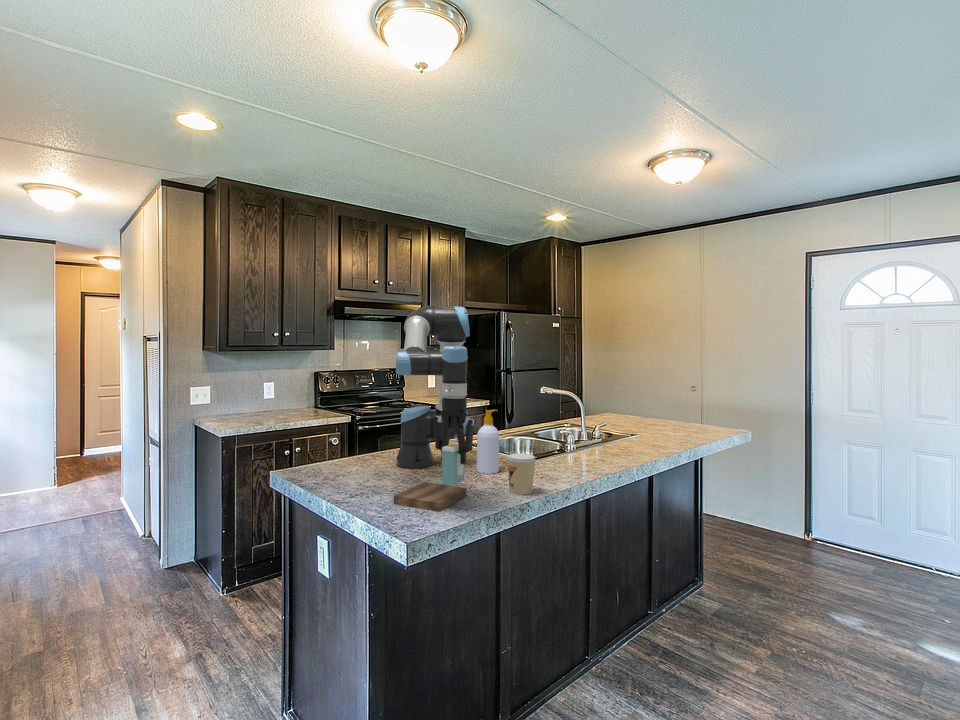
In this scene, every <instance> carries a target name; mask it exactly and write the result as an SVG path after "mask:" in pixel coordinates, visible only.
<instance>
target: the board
mask: <svg viewBox="0 0 960 720" xmlns="http://www.w3.org/2000/svg"><path fill="white" fill-rule="evenodd" d="M466 496H467V487H461V486H457V485H447V484H442V483H435V482H430V481H429V482H427V481H423V482H421V483H419V484H416V485H414V486H412V487H409V488H407V489H405V490H403V491H401V492H398V493H397V494H394V495H393V505H399V506H405V507H410V508H411V507H412V508H416V509H417V508H418V509H423V510H428V511H434V512H441V511H442V510H444V509H446V508H448V507H450V506H451V505H453V504H454V503H457V502H458V501H460V500H462V499H463V498H465V497H466Z"/></svg>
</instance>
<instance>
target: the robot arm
mask: <svg viewBox="0 0 960 720" xmlns="http://www.w3.org/2000/svg"><path fill="white" fill-rule="evenodd" d="M403 329H404V332H405V333H404V334H405V339H404V346H403V351H398V352H396V355H395V372H396V374H397V375H399V376H408V377H409V376H439V384H438V385H439V386H438V387H439V394H438V399H439V400H438V403H437V404H436V405H435V407H434V409H431V407H430V406H428V405H425V406H414V407H409V408H405V409H403V410H402V411H401V415H400V448H399V450H398V452H397V456H396V462H395V465H396V466H397V467H399V468H404V469H424V468H429V467H432V466H434V462H435V461H434V456H433V452H432V449H431V445H430V440H431V439H434V441H435V442H434V444H435V449H436V450H439V451H440V452H441V453H440V455H441V456H440V458H441V460H440V461H441V462H442V447H444V446H447V445H450V440H454V439H455V440H456V439H457V444H458V445H459V451H460V452H459V453H458V454H457V475H462V474H463V464H464V465H465V464H466V463H467V453H469V452H472V451H473V441H474V440H473V439H474V437H473V436H474V425H475V423H476V419H475V418H470V417H469V416H468V410H467V407H468V405H467V403H468V402H467V400H468V399H467V398H466V397H467V396H468V392H467V391H468V380H467V377H468V376H467V374H468V359H469V357H468V349H467V347H466V346H463V344H464V343H466V341H467V340H466V339H467V338H468V337H470V335H471V334H470V323H469V314H468V311H467V309H466V308H465V306H456V305H433V306H432V305H425V306H422V307H419V308H417V309H415V310H414V311H412V312H411V313H410V314H409V315H408V316H407V317H406V319H405V321H404V325H403ZM428 336H430V337H436V338H435V340H436V342H437V343H438V344H439V352H438V351H427V341H428V339H427V338H428Z"/></svg>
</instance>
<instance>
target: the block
mask: <svg viewBox="0 0 960 720" xmlns="http://www.w3.org/2000/svg"><path fill="white" fill-rule="evenodd" d="M459 452H460V451H459V445H458V443H451V444H449V445H447V446H444V447H442V461H441V484H442V485H449V486H456V485H458V484H459V483H461V482H464V481H465V464H463V474H462V475H457V454H458V453H459Z"/></svg>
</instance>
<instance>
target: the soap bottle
mask: <svg viewBox="0 0 960 720" xmlns="http://www.w3.org/2000/svg"><path fill="white" fill-rule="evenodd" d="M494 412H498V409H489V410H488V409H486V410H485V416H484V417H483V426H481V427H480V428H479V430H478V431H477V435H476V436H477V437H476V472H477V473H480V474H483V475H484V474H485V475H491V474H493V473H494V474H497V473H498V472H499V471H500V467H499V466H500V433H499V431H498V429H497V427H495V426H494V418H493V415H492V413H494ZM494 474H493V475H494Z"/></svg>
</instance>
